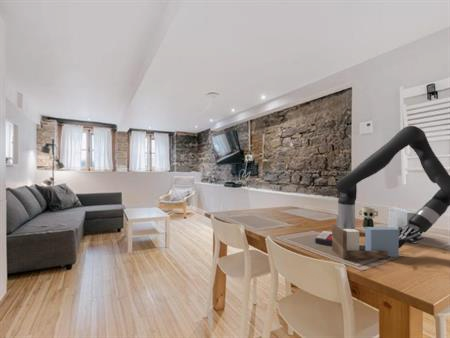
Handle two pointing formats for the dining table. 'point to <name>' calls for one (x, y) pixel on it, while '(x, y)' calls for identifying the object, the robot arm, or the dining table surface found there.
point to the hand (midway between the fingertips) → (396, 246)
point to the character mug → (368, 216)
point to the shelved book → (352, 240)
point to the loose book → (382, 240)
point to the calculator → (324, 238)
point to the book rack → (341, 249)
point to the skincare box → (399, 217)
